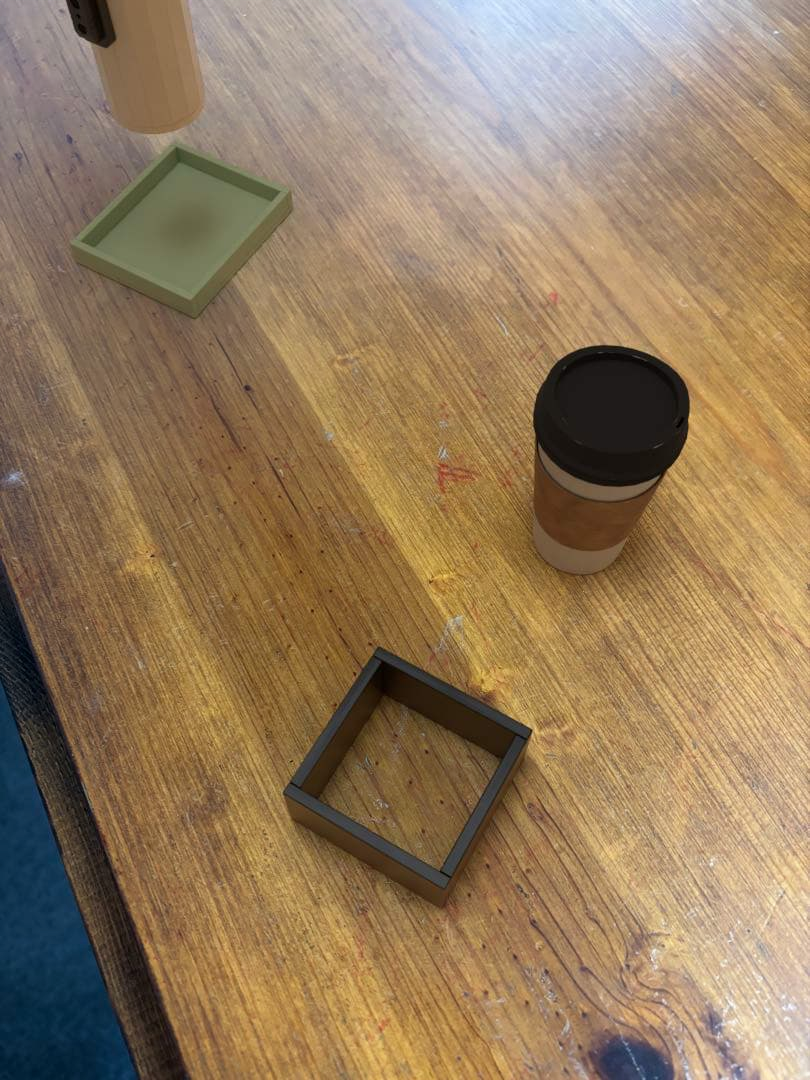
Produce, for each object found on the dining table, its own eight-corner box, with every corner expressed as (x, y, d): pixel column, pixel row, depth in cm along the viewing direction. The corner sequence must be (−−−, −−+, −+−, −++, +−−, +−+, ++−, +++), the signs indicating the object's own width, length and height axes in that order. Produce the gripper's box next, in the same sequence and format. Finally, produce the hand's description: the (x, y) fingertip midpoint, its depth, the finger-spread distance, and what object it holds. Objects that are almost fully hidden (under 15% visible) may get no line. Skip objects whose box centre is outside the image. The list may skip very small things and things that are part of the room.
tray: (195, 319, 78) (190, 300, 77) (76, 262, 81) (69, 243, 80) (293, 209, 84) (291, 189, 82) (179, 159, 87) (174, 139, 85)
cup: (167, 147, 69) (129, -13, 60) (90, 113, 71) (41, -48, 61) (224, 91, 72) (197, -70, 62) (148, 60, 74) (110, -102, 64)
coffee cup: (607, 615, 66) (656, 485, 53) (489, 553, 69) (509, 414, 56) (663, 517, 70) (723, 373, 57) (549, 461, 72) (582, 310, 59)
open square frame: (441, 909, 58) (444, 890, 53) (290, 818, 60) (281, 792, 56) (524, 758, 62) (533, 729, 57) (380, 679, 64) (378, 645, 60)
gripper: (91, -386, 55) (157, -67, 70) (-106, -268, 49) (11, 55, 64) (209, -353, 53) (251, -32, 68) (19, -226, 47) (110, 97, 62)
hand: (135, 9), depth 66 cm, fingers closed on cup, 6 cm apart
